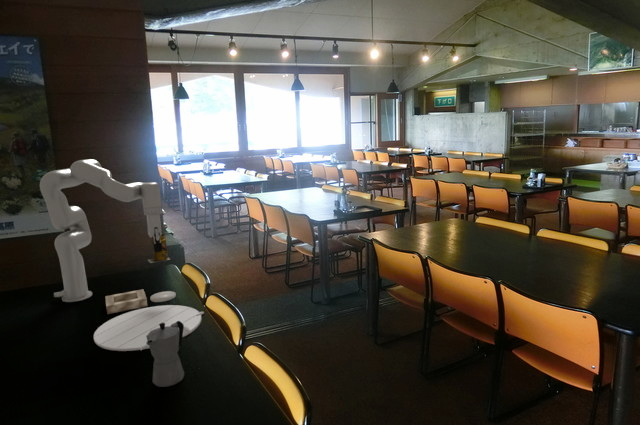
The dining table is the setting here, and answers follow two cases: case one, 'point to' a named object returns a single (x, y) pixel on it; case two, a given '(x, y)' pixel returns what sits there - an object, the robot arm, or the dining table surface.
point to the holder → (126, 301)
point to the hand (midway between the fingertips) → (157, 249)
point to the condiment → (159, 255)
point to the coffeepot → (166, 354)
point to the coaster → (163, 296)
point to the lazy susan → (143, 326)
